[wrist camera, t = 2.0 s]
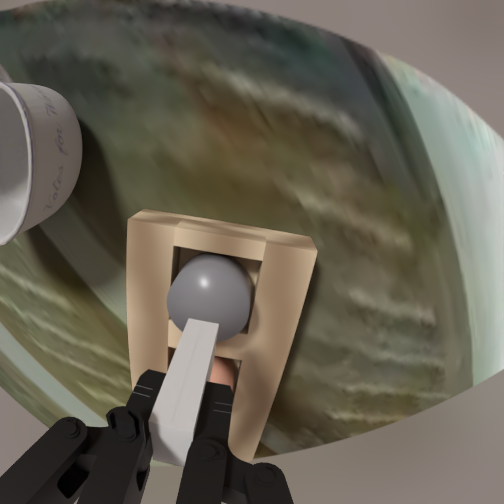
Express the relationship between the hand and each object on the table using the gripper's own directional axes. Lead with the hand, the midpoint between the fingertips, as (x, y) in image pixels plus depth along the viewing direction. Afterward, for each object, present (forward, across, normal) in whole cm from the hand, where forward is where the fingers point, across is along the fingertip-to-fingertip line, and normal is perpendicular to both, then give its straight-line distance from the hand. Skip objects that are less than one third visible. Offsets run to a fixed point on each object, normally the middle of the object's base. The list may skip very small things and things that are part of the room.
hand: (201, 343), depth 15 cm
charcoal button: (+6, 0, 0) cm, 6 cm away
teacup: (+9, -16, +9) cm, 20 cm away
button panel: (+8, 0, -8) cm, 12 cm away
